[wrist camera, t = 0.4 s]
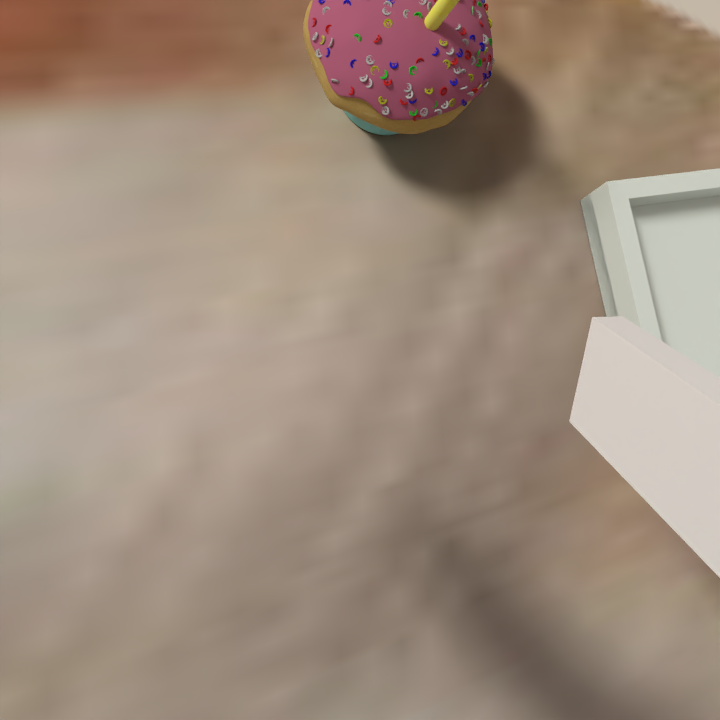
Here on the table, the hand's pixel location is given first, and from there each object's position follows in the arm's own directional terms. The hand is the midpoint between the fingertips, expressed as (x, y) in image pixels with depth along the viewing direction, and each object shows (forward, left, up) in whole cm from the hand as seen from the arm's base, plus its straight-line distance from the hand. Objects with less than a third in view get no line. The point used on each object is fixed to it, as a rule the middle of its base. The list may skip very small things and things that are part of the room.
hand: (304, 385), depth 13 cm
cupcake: (+15, -8, -16) cm, 24 cm away
